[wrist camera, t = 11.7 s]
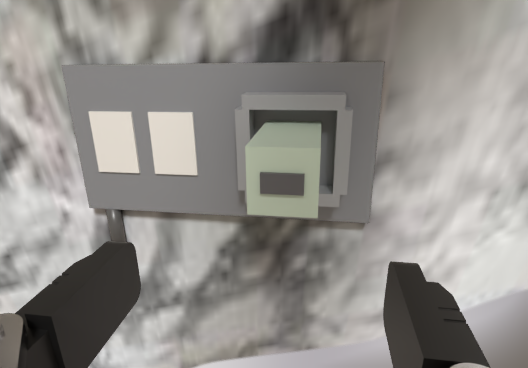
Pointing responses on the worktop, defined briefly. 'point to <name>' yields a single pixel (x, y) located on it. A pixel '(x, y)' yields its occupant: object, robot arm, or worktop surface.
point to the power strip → (218, 133)
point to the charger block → (284, 169)
